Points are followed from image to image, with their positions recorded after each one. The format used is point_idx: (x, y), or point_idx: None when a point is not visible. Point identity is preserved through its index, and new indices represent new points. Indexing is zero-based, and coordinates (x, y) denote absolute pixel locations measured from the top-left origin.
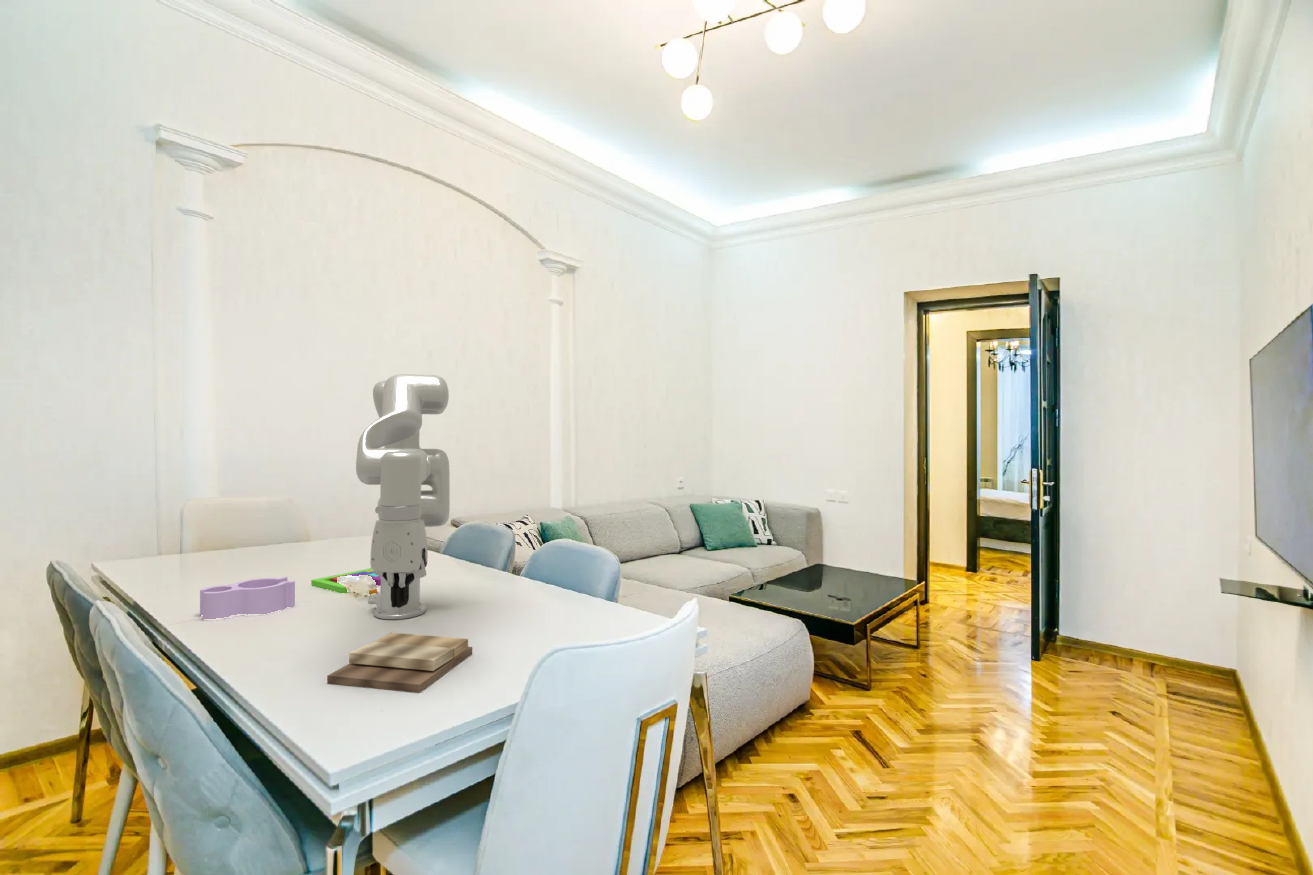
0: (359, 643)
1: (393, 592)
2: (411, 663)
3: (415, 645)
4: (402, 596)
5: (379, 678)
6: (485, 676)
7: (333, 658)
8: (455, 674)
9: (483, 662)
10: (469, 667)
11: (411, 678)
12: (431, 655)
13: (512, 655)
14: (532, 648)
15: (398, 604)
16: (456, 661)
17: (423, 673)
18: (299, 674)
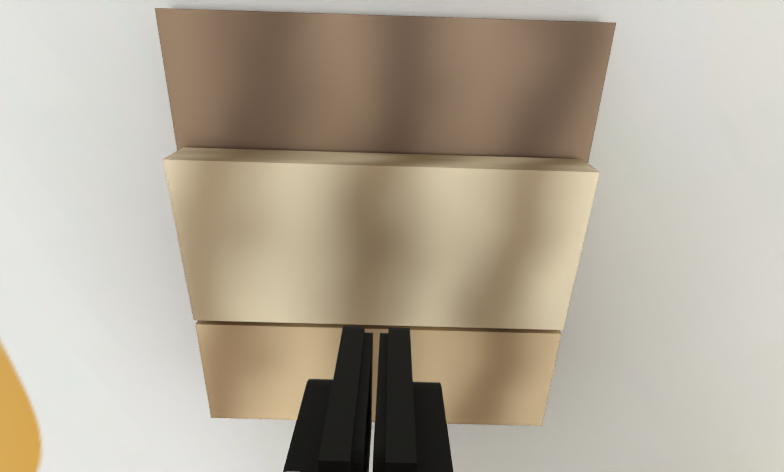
0: (658, 402)
1: (393, 417)
2: (280, 157)
3: (364, 319)
4: (319, 410)
5: (368, 39)
6: (46, 218)
7: (692, 268)
8: (162, 214)
9: (141, 329)
10: (157, 282)
11: (234, 69)
12: (216, 218)
13: (90, 397)
14: (70, 455)
15: (342, 337)
16: None
17: (221, 132)
18: (761, 95)
